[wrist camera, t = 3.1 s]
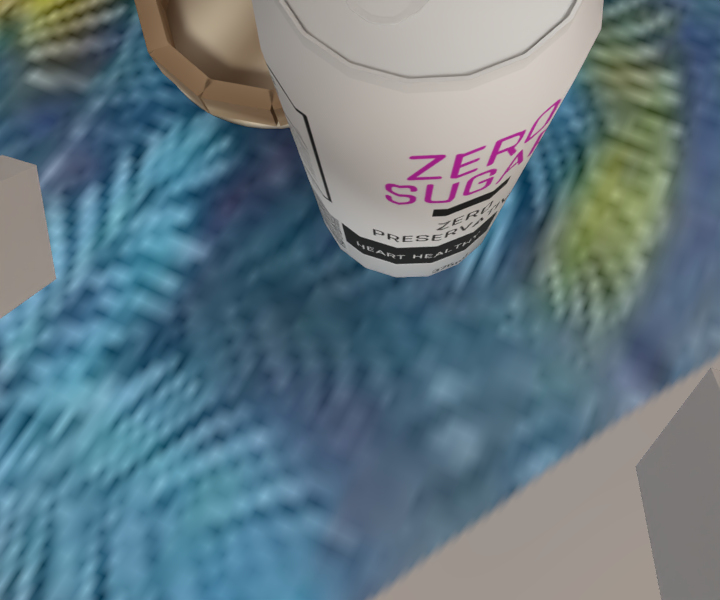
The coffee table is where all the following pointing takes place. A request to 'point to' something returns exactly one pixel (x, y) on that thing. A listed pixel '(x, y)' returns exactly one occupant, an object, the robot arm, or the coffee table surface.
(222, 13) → the ring coaster
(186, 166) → the coffee table surface
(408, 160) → the supplement can
